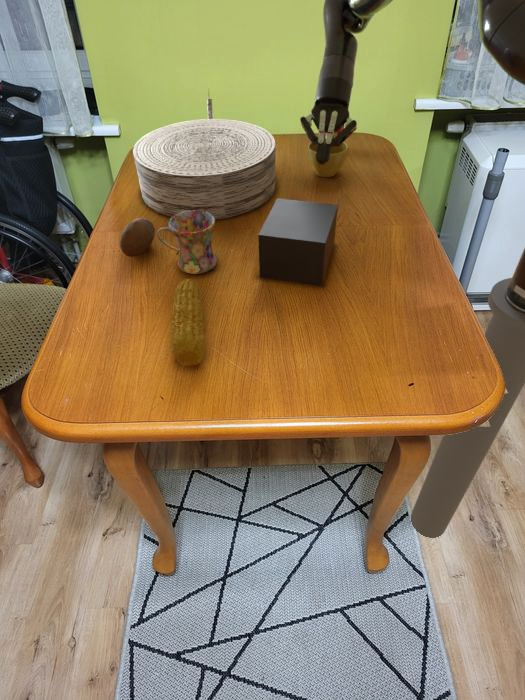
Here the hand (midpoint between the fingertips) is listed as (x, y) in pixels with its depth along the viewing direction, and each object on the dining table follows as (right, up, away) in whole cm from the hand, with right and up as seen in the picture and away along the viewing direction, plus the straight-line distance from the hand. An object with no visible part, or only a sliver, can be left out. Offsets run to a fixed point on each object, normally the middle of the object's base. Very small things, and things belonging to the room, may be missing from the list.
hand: (321, 163), depth 106 cm
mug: (-28, -24, -6) cm, 37 cm away
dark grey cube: (-6, -23, -6) cm, 24 cm away
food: (-26, -38, -21) cm, 50 cm away
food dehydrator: (-27, +2, +20) cm, 34 cm away
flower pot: (+4, +6, +23) cm, 24 cm away
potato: (-39, -20, -2) cm, 44 cm away
